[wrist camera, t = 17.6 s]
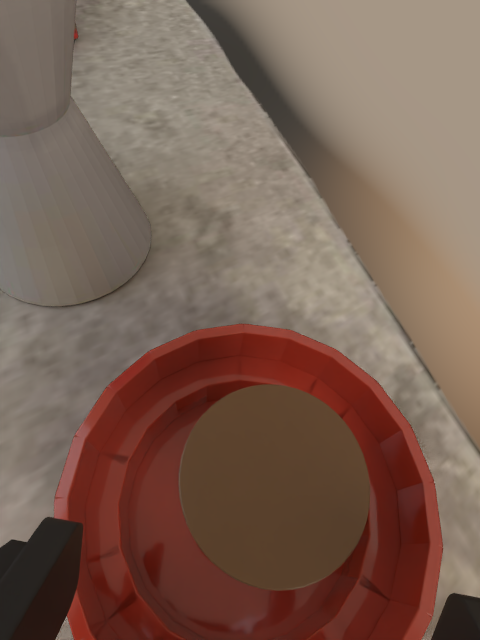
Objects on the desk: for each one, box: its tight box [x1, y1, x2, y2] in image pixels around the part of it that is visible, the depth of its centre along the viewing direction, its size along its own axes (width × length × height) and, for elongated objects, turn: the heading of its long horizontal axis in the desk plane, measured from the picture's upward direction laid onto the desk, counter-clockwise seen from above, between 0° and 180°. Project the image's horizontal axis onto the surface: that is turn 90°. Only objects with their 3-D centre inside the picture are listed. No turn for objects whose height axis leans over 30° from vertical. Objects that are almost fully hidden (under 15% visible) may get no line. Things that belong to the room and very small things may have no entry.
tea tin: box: [178, 384, 370, 591], centre depth 15 cm, size 5×5×9 cm
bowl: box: [54, 324, 443, 640], centre depth 17 cm, size 14×14×6 cm
